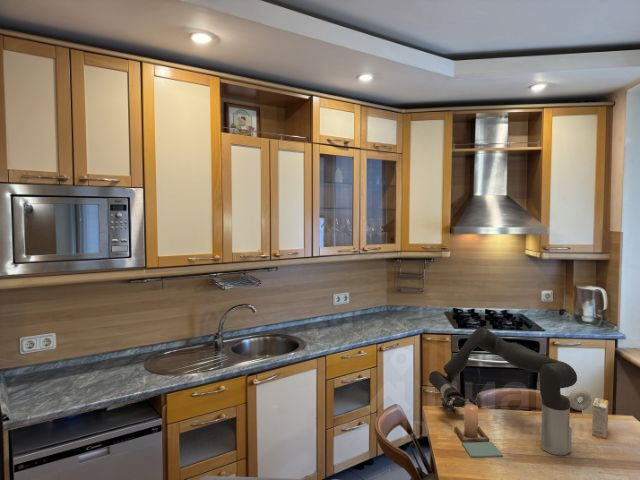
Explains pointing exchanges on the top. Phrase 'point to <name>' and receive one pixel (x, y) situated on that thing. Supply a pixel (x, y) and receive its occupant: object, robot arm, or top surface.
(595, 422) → the supplement box
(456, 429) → the holder
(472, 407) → the tall tan cylinder
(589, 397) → the grey round disc
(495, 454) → the mat
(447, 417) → the top surface
